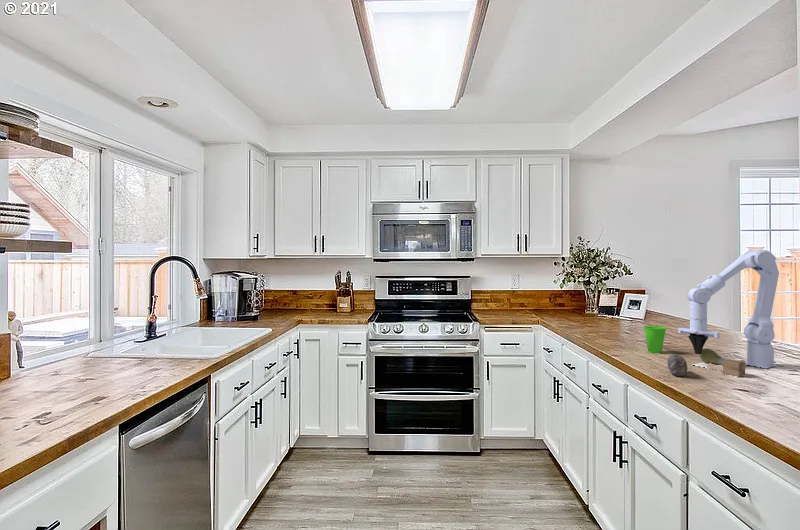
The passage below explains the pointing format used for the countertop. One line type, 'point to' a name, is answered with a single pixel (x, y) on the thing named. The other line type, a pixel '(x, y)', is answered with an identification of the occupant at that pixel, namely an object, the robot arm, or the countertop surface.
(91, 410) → the countertop surface
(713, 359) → the light bulb
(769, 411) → the countertop surface
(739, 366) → the walnut block
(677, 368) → the perforated stone tool
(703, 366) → the letter
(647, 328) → the cup
